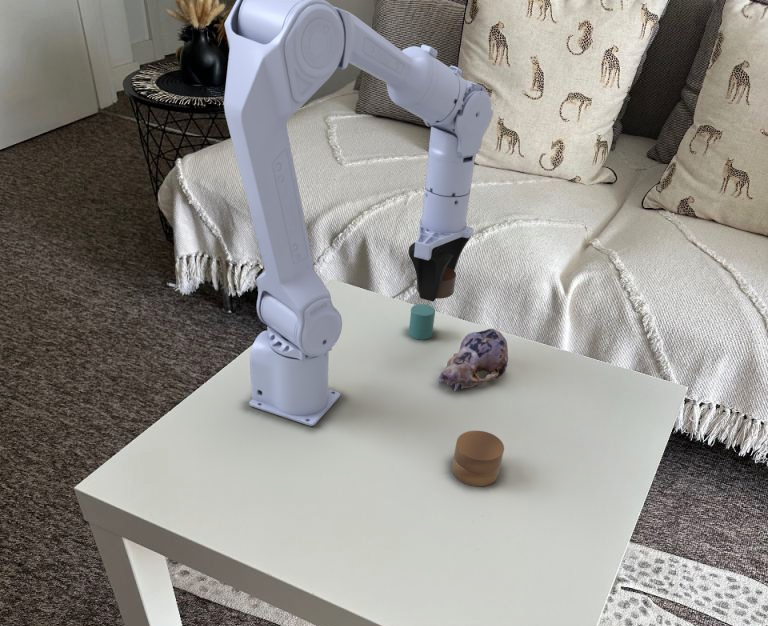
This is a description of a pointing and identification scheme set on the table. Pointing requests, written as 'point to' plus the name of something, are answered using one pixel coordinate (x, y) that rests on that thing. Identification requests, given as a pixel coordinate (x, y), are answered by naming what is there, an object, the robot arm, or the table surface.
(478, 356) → the skull
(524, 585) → the table surface
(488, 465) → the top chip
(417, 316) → the teal cylinder peg
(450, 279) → the walnut chip
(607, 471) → the table surface
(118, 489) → the table surface
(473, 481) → the bottom chip
